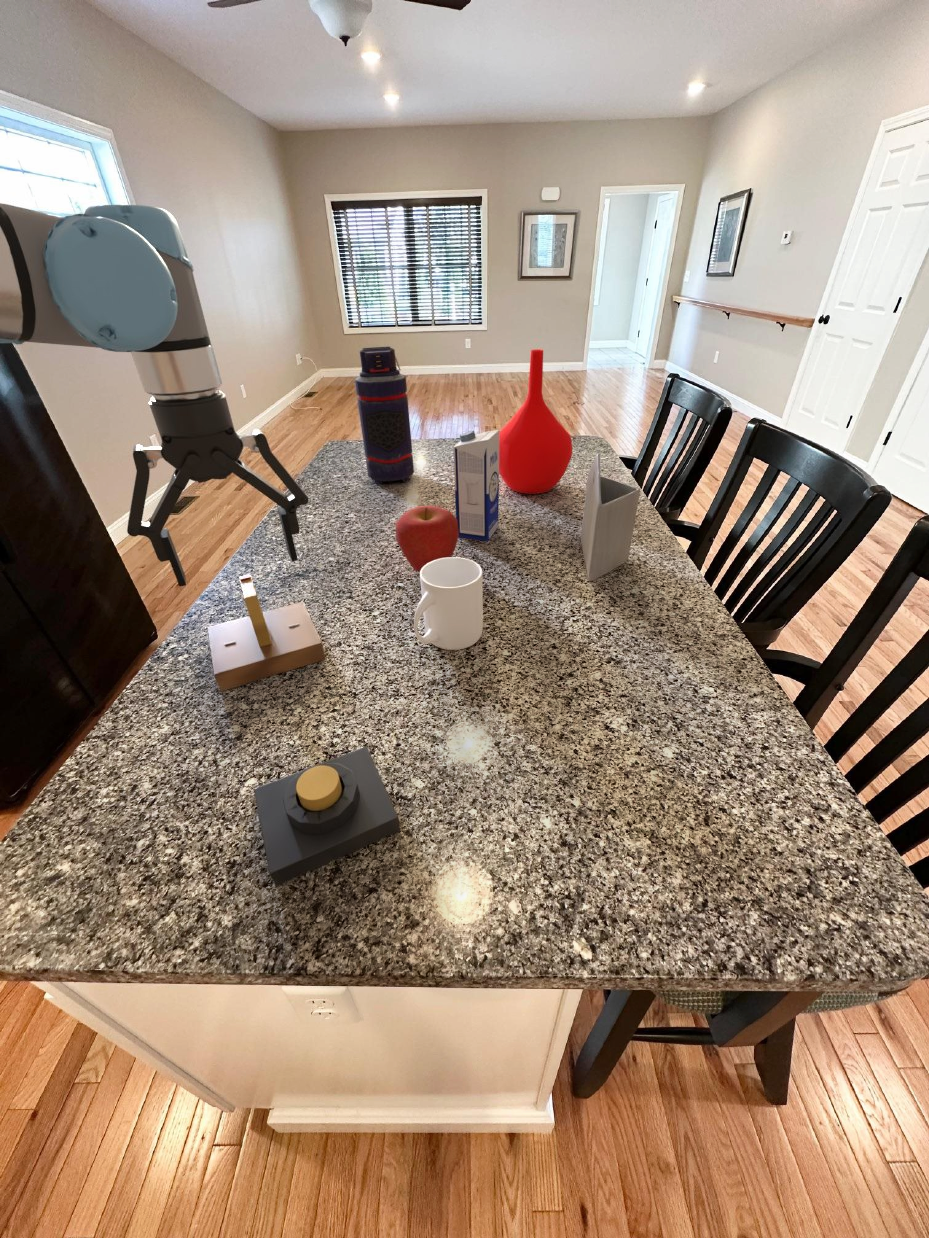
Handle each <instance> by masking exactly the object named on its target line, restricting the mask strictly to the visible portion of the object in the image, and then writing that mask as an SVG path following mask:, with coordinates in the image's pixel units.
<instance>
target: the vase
mask: <svg viewBox="0 0 929 1238" xmlns="http://www.w3.org/2000/svg"><path fill="white" fill-rule="evenodd" d="M543 374H544V349H543V348H541V349H540V348H536V349H530V357H529V372H528V393H527V396H526V398H525V400H524V403H523V404H522V406H521V407H520V408H519V409H518V410H517V412H516V413H515V414H514V415H513V416H512V417H511V419H510V420H509V421H508V422H507V423H506V424H505V425H504V426H503V427H502V429H500V430H499V477H501V479H502V480H503V482H504V483H505V485H506V486H508V487H509V488H510V489H511V490H512V491H514V492H517V493H519V494H526V495H537V494H543V493H546V492H549V491H550V490H551V489H553V488H554V487H555V486H557V484H558V483H559V482H560V481H561V479H562V478H563V476H564V475H565V473H566V471H567V469H568V467H569V464H570V462H571V460H572V457H573V456H572V455H573V443H572V437H571V434H570V432H569V431H568V430H567V429H566V428H565V427H564V426H563V425H562V424H561V422H560V421H559V420H558V419H557V417H556V416H555V415H554V414H553V412H552V411H551V409H550V408H549V407H548V405H547V404H546V402H545V399H544V396H543V381H544V380H543V376H544V375H543Z"/></svg>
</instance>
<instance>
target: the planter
mask: <svg viewBox="0 0 929 1238" xmlns="http://www.w3.org/2000/svg"><path fill="white" fill-rule="evenodd" d="M640 495H641V488H639V487H637V486H634V485H632V484H628V483H626V482H623V481H619V480H616V479H613V478H611V477H607V476H605V475H602V474H601V455H600V453H599V452H598V453H596V455H595V457H594V459H593V461H592V463H591V465H590V468H589V470H588V472H587V479H586V487H585V495H584V505H583V511H582V512H583V514H582V523H581V531H580V539H579V540H580V544H581V549H582V554H583V559H584V565H585V570H586V575H587V580H588V582H593V581H595V580H597V579H599V578H601V577H603V576H604V575H606V574H608V573H610V572H612V571H614V570H615V569H617V568H619V567H620V566H622V565H623V564H625V563H626V562H627V561H629V557H630V552H631V546H632V540H633V535H634V529H635V524H636V518H637V511H638V507H639V506H638V505H639V501H640Z"/></svg>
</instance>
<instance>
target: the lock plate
mask: <svg viewBox="0 0 929 1238" xmlns="http://www.w3.org/2000/svg"><path fill="white" fill-rule="evenodd" d="M262 613H263V616H264V619H265V622H266V626H267V629H268V633H269V636H270V640H271V644H269V645H266V646H262V647H259V644H258V640H257V637H256V634H255V631H254V628H253V625H252V622H251V619H250V616H249V615H247V616H243V617H240V618H235V619H232V620H228V621H224V622H220V623H216V624H213V625H209V626H207V627H206V629H207V630H206V631H207V636H208V644H209V651H210V658H211V665H212V671H213V676H214V679H215V681H216V683H217V686H218V689H219V691H220V692H225V691H227V690H231V689H234V688H238V687H240V686H244V685H247V684H250V683H254V682H257V681H260V680H263V679H266V678H270V677H273V676H276V675H281V674H283V673H286V672H289V671H291V670H292V671H293V670H296V669H299V668H302V667H305V666H309V665H312V664H316V663H319V662H322V661H325V660H326V655H325V651H324V647H323V642H322V640H321V638H320V636H319V633H318V631H317V629H316V627H315V624H314V622H313V620H312V618H311V616H310V614H309V611H308V609H307V606H306V603H305V602H304V601H300V602H296V603H292V604H289V605H285V606H280V607H277V608H274V609H269V610H266V611H262Z"/></svg>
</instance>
